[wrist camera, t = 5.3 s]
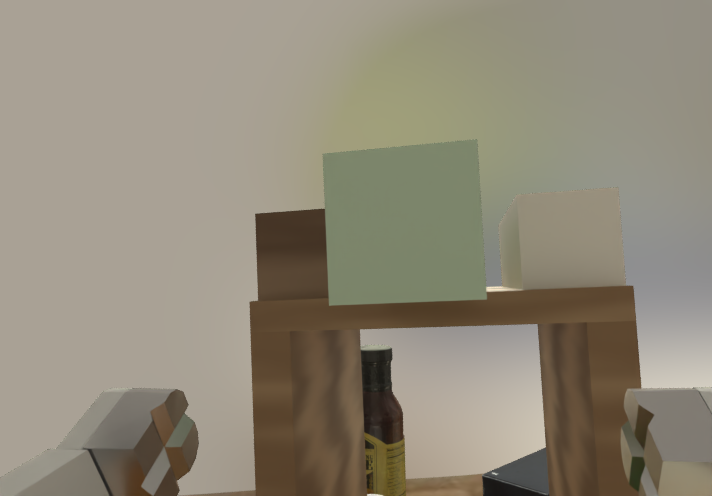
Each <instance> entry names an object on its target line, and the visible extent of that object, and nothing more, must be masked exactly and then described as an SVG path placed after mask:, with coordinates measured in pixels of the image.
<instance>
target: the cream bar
mask: <svg viewBox="0 0 712 496" xmlns="http://www.w3.org/2000/svg"><path fill="white" fill-rule="evenodd" d="M499 243H500V259H501V273H502V287H508V288H514V289H521V290H531V289H555V288H579V287H603V286H626V279H625V266H624V255H623V240H622V228H621V215H620V202H619V191H618V187H613V188H600V189H586V190H574V191H573V190H572V191H560V192H545V193H532V194H518V195H516V196H515V198H514V200H513V201H512V203H511V205H510V207H509V208H508V210H507V212H506V214H505V215H504V217H503V219H502V220H501V222H500V224H499Z"/></svg>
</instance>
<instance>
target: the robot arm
mask: <svg viewBox="0 0 712 496" xmlns="http://www.w3.org/2000/svg"><path fill="white" fill-rule="evenodd" d="M187 407H188V403H187V400H186V397H185V395H184V392H182V391H180V390H177V389H147V388H132V389H126V388H110V389H108V390H105V391H103V392H102V393H101V394H100V396H99V397H98V398H97V399H96V401H95V402H94V403H93V404H92V405H91V407H90V408H89V409H88V410H87V412H86V413H85V414H84V415H83V416H82V418H81V419H80V420H79V421H78V422H77V424H76V425H75V426H74V427H73V428H72V430H71V431H70V432H69V433H68V435H67V436H66V437H65V438H64V440H63V441H62V442H61V443H60V444H59V446H58V447H57V448H56V449H47V450H46V451H44V452H42V453H41V454H39V455H37V456H36V457H34V458H32V459H31V460H29V461H27V462H26V463H24V464H22V465H21V466H19V467H17V468H15V469H14V470H12V471H11V472H9V473H7V474H5V475H4V476H2V477H0V496H177V495H178V493H179V486H178V482H177V480H179V479H180V478H181V477H182V476H184V475H185V474H187V473H188V472H189V471H190V469H191V467H192V465H193V463H194V461H195V459H196V455H197V449H198V444H199V442H198V431H197V428H196V425H195V422H194V421H193V420H192V419H190V418H189V417H188V416H187V415H186V414H185V411H186V409H187ZM624 409H625V412H626V415H627V417H628V421H627V422H626V423H625V424H624V425H623V426H622V427H621V442H620V443H621V455H622V461H623V466H624V470H625V474H626V477H627V480H628V483H629V485H630V486H632V487H633V488H634V489H635V490H636V491H638V492H639V496H712V387H701V388H700V387H699V388H698V387H695V388H692V389H691V388H649V389H647V388H646V389H627V391H626V394H625V399H624Z"/></svg>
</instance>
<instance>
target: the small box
mask: <svg viewBox="0 0 712 496" xmlns="http://www.w3.org/2000/svg"><path fill="white" fill-rule="evenodd" d="M482 480H483V496H549V484H548V469H547V454H546V448H544V449H541V450H539V451H537V452H535V453H532V454H530V455H527V456H525V457H523V458H520V459H518V460H516V461H513V462H511V463H509V464H507V465H504V466H502V467H500V468H497V469H494V470H492V471H490V472H487V473H485V474H483V475H482Z"/></svg>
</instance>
